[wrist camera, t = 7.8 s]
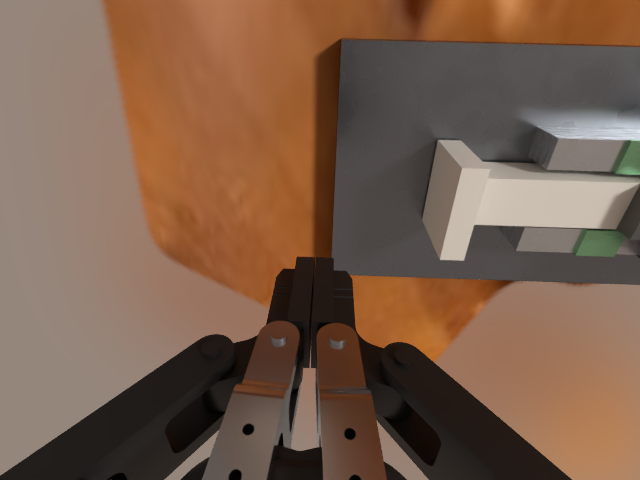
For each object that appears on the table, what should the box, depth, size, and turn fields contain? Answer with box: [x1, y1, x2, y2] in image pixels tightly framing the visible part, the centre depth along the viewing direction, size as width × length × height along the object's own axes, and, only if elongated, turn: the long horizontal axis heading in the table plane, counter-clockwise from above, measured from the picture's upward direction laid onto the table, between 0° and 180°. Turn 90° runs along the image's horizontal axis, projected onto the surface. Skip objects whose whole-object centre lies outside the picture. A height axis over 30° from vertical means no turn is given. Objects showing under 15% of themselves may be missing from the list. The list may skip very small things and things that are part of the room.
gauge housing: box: [331, 38, 640, 285], centre depth 21 cm, size 16×24×8 cm, turn 89°
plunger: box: [422, 140, 640, 261], centre depth 21 cm, size 6×13×5 cm, turn 89°
